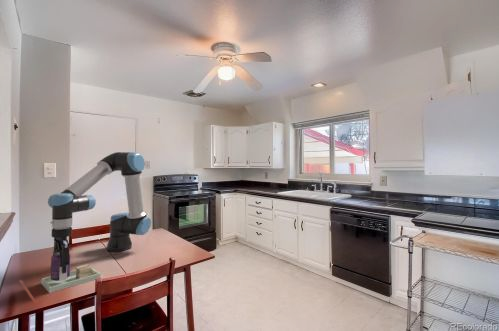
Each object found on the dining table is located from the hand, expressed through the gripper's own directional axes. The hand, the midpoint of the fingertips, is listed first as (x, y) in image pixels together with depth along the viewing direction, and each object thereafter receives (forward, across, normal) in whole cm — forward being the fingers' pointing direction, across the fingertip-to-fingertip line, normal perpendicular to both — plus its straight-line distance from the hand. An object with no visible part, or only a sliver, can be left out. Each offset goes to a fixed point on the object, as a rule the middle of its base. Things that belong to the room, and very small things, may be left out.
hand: (60, 277), depth 117 cm
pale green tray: (+4, 0, +4) cm, 6 cm away
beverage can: (+1, 0, 0) cm, 1 cm away
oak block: (+3, 0, +10) cm, 10 cm away
